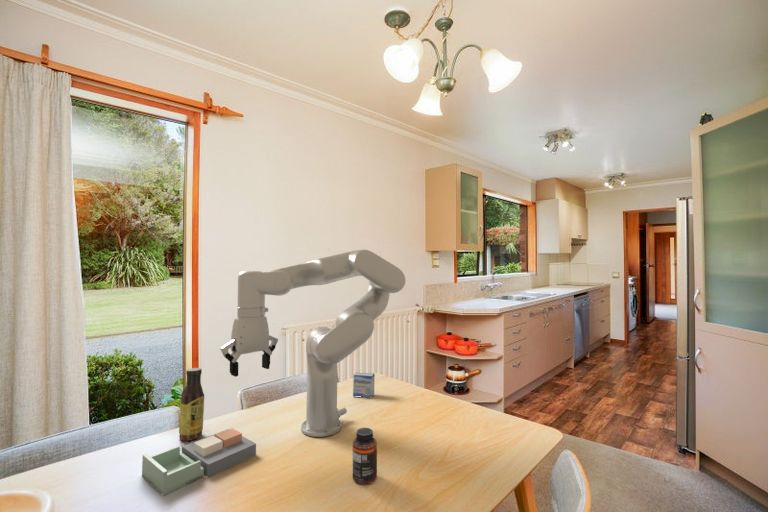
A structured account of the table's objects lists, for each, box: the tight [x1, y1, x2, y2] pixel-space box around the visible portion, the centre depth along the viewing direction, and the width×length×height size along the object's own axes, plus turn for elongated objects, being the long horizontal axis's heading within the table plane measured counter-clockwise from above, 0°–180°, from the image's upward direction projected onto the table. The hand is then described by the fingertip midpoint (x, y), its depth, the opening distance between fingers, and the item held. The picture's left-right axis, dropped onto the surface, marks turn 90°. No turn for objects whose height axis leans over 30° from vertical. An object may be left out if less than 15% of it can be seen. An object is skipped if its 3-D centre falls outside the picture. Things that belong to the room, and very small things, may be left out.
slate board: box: [181, 428, 257, 478], centre depth 95 cm, size 13×14×3 cm
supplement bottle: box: [352, 427, 378, 486], centre depth 86 cm, size 6×6×11 cm
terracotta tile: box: [214, 427, 243, 448], centre depth 97 cm, size 5×5×2 cm
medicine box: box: [352, 371, 376, 398], centre depth 141 cm, size 8×4×9 cm, turn 81°
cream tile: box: [193, 435, 223, 457], centre depth 93 cm, size 5×5×2 cm
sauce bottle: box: [178, 367, 205, 442], centre depth 106 cm, size 6×6×20 cm
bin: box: [141, 445, 205, 496], centre depth 86 cm, size 9×12×5 cm
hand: (250, 371), depth 104 cm, fingers open, 9 cm apart
